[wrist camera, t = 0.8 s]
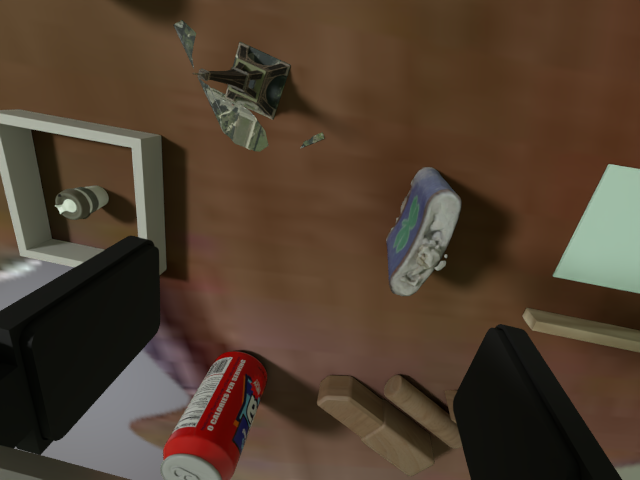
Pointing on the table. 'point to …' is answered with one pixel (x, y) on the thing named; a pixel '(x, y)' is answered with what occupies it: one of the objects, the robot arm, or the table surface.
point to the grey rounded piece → (81, 201)
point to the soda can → (216, 421)
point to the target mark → (608, 235)
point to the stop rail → (583, 329)
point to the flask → (421, 231)
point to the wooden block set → (391, 419)
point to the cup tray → (27, 195)
